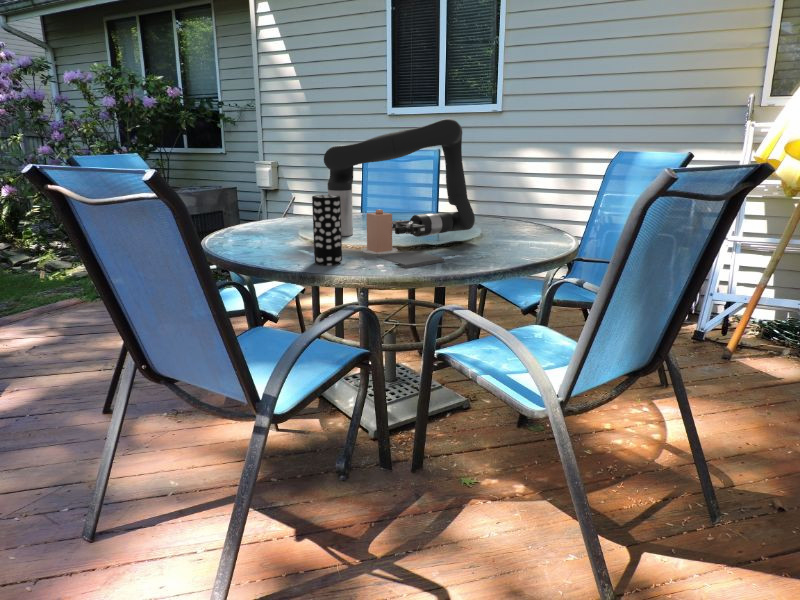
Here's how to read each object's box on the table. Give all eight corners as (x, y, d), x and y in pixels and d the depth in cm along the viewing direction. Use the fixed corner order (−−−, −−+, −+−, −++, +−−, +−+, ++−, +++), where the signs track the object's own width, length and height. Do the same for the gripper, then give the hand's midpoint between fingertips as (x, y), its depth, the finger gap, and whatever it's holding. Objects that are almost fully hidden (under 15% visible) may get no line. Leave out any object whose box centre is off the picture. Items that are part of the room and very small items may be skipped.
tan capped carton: (367, 249, 186) (366, 209, 182) (381, 247, 190) (381, 208, 186) (377, 252, 181) (376, 211, 178) (392, 250, 185) (392, 210, 181)
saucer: (357, 255, 181) (357, 243, 180) (366, 248, 192) (366, 236, 191) (393, 256, 179) (393, 244, 178) (400, 249, 190) (400, 237, 189)
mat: (376, 259, 176) (376, 256, 175) (414, 253, 184) (414, 250, 184) (405, 268, 164) (405, 264, 164) (444, 261, 173) (444, 258, 172)
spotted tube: (315, 266, 166) (312, 198, 160) (314, 260, 174) (311, 195, 168) (343, 265, 168) (341, 197, 162) (340, 259, 176) (339, 194, 170)
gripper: (413, 211, 199) (375, 215, 190) (439, 216, 188) (401, 220, 179) (413, 232, 201) (375, 237, 192) (438, 238, 191) (400, 243, 181)
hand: (388, 229), depth 186 cm, fingers open, 8 cm apart
